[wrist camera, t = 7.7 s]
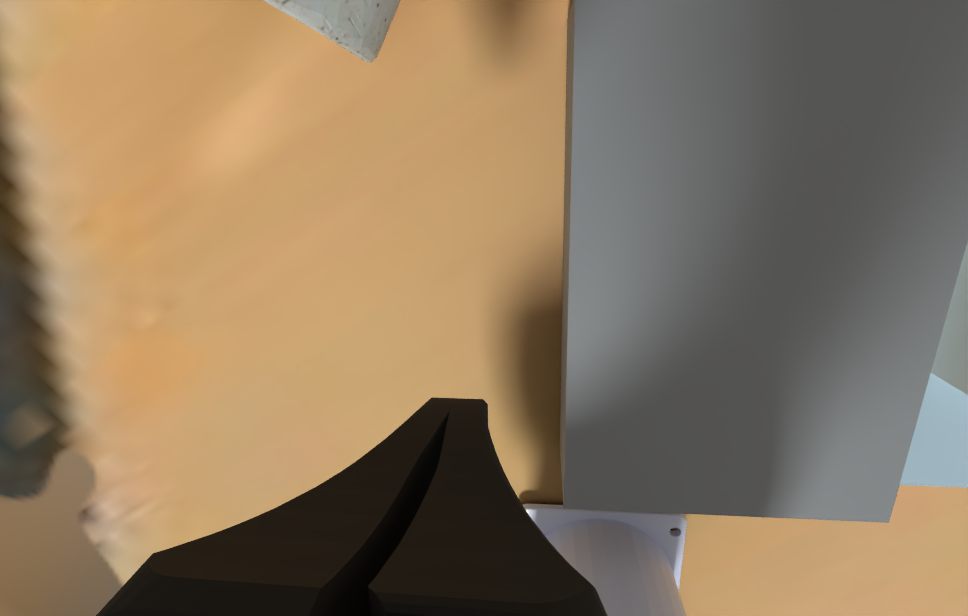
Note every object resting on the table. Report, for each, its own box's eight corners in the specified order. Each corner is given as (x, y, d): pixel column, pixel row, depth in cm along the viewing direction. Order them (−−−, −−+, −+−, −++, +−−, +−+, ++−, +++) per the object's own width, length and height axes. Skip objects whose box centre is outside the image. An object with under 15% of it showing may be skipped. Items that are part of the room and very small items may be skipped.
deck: (830, 458, 22) (888, 522, 19) (559, 449, 24) (563, 508, 20) (931, -2, 17) (1046, -43, 13) (567, 19, 18) (575, -12, 14)
